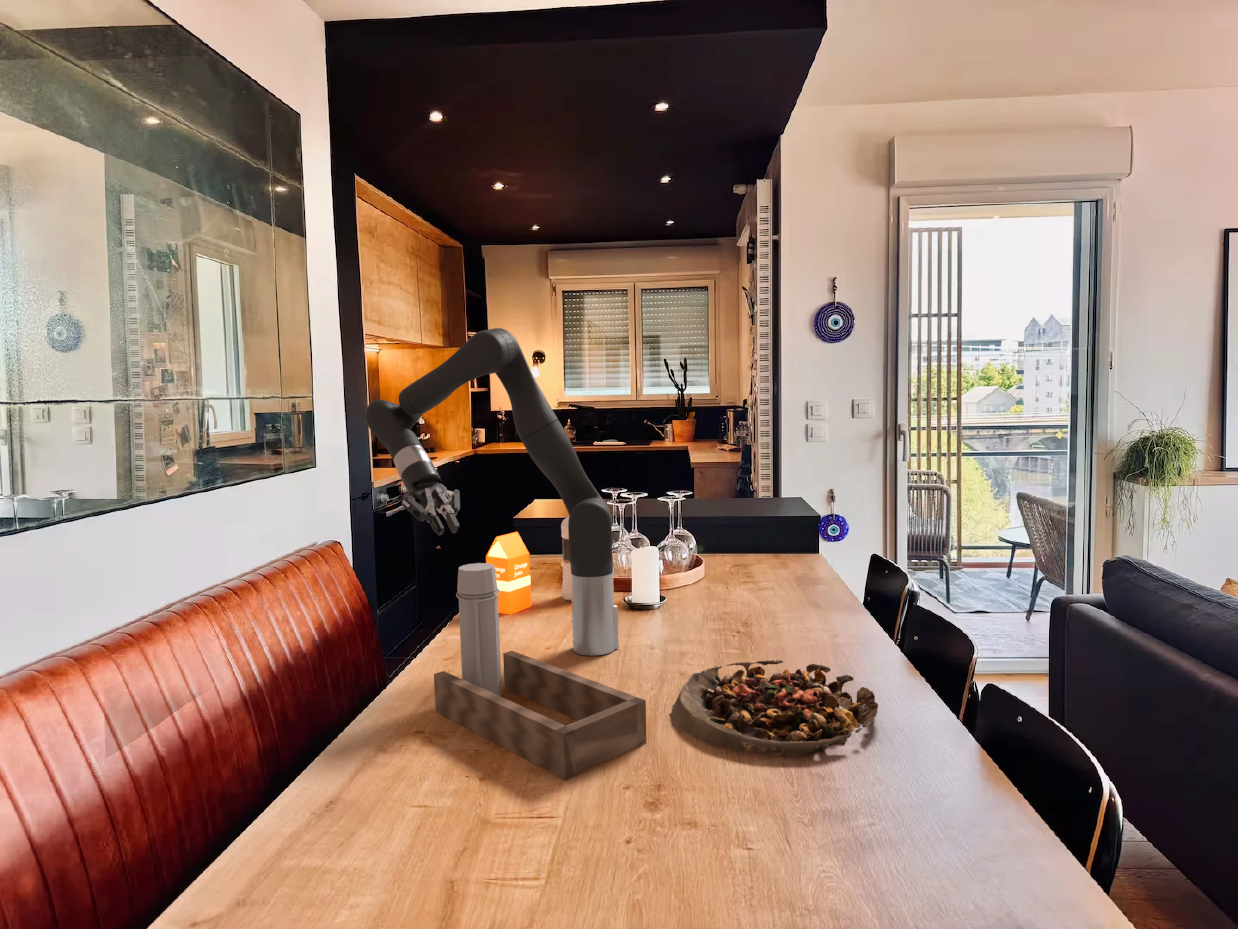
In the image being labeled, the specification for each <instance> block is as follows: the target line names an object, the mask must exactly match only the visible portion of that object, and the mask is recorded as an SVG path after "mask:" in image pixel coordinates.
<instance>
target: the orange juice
mask: <svg viewBox="0 0 1238 929" xmlns="http://www.w3.org/2000/svg"><path fill="white" fill-rule="evenodd" d="M522 539H523V538H522V536H520V534H519V532H518V531H515V532H514V531H513V532H510V533H506V534H502V535H498V536H497V535H496V537H495V538H494V541H493V542H492V545H490V548H489V550H488V552H487V553H486V555H485V563H488V564H493V565H494V566H495V574H496V581H497V588H498V589H499V590H500V593H499V595H498V609H499V614H506V615H513V614H515V613H518V612H520V611H523V610H526V609H528V608H530V607H532V594H531V592H532V590H531V584H532V583H531V565H530V564H531V562H530V560H531V559H530V552H529V550H528V549H527V547H526V545H525V543H524V542H523V540H522ZM497 593H498V592H497ZM497 593H496V594H497Z"/></svg>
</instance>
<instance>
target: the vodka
mask: <svg viewBox="0 0 1238 929" xmlns="http://www.w3.org/2000/svg"><path fill="white" fill-rule="evenodd" d="M568 521H569V515H568V516H567V517H566V518H564V519H563V520H562V522H561V524H560V529H561V534H560V535H561V538H562V540H561V542H562V562H561V564H562V587H561V597H562V599H564V600H565V601H569V602H572V591H571V565H570V558H569V534H568Z"/></svg>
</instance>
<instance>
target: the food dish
mask: <svg viewBox="0 0 1238 929" xmlns="http://www.w3.org/2000/svg"><path fill="white" fill-rule="evenodd" d="M783 663H784V660H782V659H776V660H774V659H772V660H769V659H766V660H759V661H756V662H751V661H743V662H742V661H741V662H734V663H733V662H732V663H729V664H726V667H731V666H742V667H743V668H744V670H745V671H746V675H744V674H745V671H744V670H743V669H738V670H737V671H735V672H734V673H733V675H731V674H727V675H724V676H723V678H720V675H719V670H720V669H721V668H722V667H723V665H719V666H717V665H716V666H714V667H711V668H710V667H709V668H705V669H704V670H702V671H701V672H694V673H692V674H691V675H690V676H689V678H688V680H687V681H686V682H685V683H684V684H683V686H682V688H681V690H680V692H679V694H678V696H677V698H676V700H675V702H674V703H673V705H672V708H671V712H670V713H669V715H668V716H669V717H670V722H671V726H672V727H674V728H677V729H679V730H681V731H683V732H685V733H687V734H688V735H690V736H692V738H694V739H697V740H699V741H701V742H702V743H704V744H706V745H709V746H712V747H713V748H718V749H719V748H726V749H729V750H731V751H736V752H755V753H756V752H757V753H759V754H766V755H771V754H774V755H777V754H781V755H786V756H797V755H805V754H810V753H813V752H816V751H823V750H825V749H827V748H828V746H834V745H835V746H842V745H845V744H846V742H848V741H847V740H848V739H849V738H851V737H852V732H855V733H856V734H857V733H860V731H862V730H863V728H867V727H869V726H870V725H871V724H872V723H873V722H875V718H876V717H877V714H878V713H879V704H878V703H877V702H876V696H875V694H874V692H873V691H872V690H870V689H869V687H864V686H862V687H860V688H859V689H858V690H857V691H856V700H855V702H853V697H852V696H851V694H850V693H849V692H847V691H844V692H843V686H844V685H845V684H847V683H849V682H852V681H853V682H854V680H855V679H854V676H851V675H848V674H846V675H842V676H835V677H836V678H835V679H836V680H835V681H832V682H829V683H828V684H827V677H826V674H827V673H830V672H831V668H830V667H829V666H826V665H822V664H816V663H811V664H808V665H807V666H806V667H805V668H806V669H805V670H803V671H802V670H801V669H800V668H798V669H796V670H795V671H794V672H792V673H791V671H790V670H789V669H785V670H783V671H782V672H774V673H772V675H771V676H770V678H767V676H765V673H766V670H765V669H764V668H763V667H762V666H768V665H779V664H783ZM753 664H754V665H755V664H759V665H760V664H761V665H762V666H753V667H751V665H753ZM750 667H751V668H750ZM811 673H813V674H814V678H813V677H812V676H811V675H810V674H811ZM824 673H826V674H824ZM856 728H857V729H856ZM855 729H856V730H855Z"/></svg>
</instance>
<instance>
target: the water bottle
mask: <svg viewBox="0 0 1238 929" xmlns="http://www.w3.org/2000/svg"><path fill="white" fill-rule="evenodd" d="M456 586H457V589H456V590H457V592H456V593H455V597H456V598H457V599H458V611H459V612H458V613H459V614H458V615H459V638H460V659H461V662H460V663H461V679H463V680H465V681H467V682H469V683H472V684H474V685H476V686H478V687H481V688H483V689H485V690H487V691H489V692H492V693H494V694H496V695H498V696H501V697H502V695H503V694H502V693H503V692H502V669H501V664H502V663H501V644H500V642H501V641H500V638H501V637H500V616H499V614H500V613H499V609H498V595H499V593H500V590H499V589H498V588H497V581H496V574H495V566H494V565H493V564H488V563H486V562H484V563H483V562H476V563H467V564H463V565H461V566H459V567H458V572H457V585H456ZM497 592H498V593H497ZM496 593H497V594H496Z"/></svg>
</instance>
